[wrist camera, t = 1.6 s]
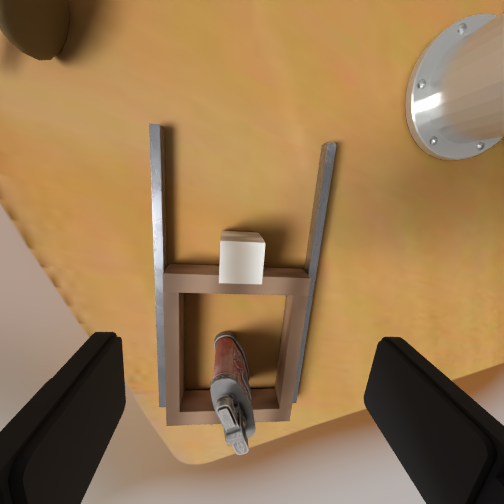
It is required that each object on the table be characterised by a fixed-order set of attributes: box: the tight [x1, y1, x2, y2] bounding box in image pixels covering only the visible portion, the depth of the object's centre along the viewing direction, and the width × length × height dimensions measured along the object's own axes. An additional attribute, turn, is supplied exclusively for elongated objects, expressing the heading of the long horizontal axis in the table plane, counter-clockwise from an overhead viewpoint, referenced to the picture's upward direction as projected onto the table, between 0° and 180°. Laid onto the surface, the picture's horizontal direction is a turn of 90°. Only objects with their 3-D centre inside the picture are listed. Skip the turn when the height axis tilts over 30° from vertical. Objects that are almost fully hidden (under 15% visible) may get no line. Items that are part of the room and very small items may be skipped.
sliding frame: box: [163, 231, 311, 426], centre depth 26 cm, size 15×23×5 cm, turn 176°
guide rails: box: [149, 123, 337, 407], centre depth 27 cm, size 18×32×2 cm, turn 176°
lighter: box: [210, 331, 255, 455], centre depth 25 cm, size 8×3×10 cm, turn 17°
